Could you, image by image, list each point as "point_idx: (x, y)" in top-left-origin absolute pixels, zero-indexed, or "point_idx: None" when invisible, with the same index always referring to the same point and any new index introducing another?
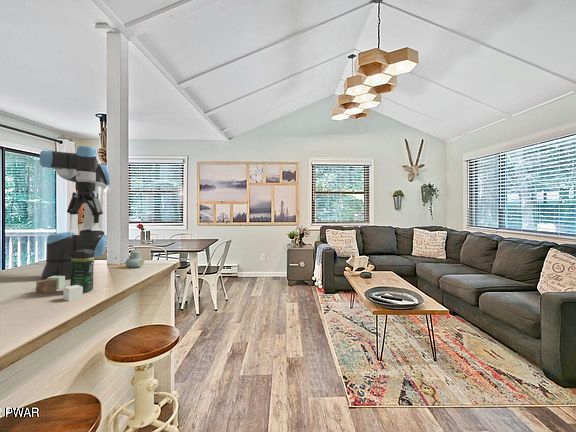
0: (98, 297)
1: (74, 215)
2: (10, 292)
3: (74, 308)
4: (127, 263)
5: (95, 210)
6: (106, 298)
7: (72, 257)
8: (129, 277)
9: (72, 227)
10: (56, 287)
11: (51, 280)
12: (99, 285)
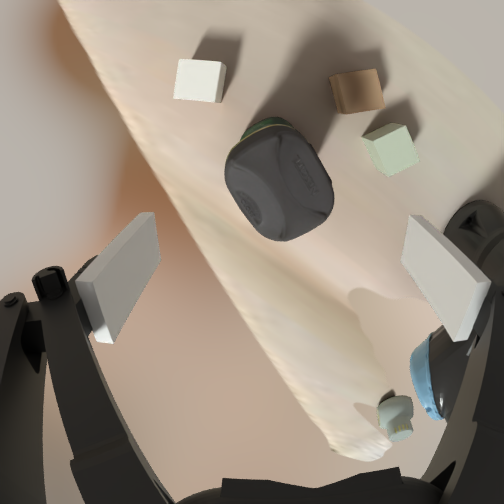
0: (162, 133)
1: (462, 303)
2: (423, 53)
3: (116, 44)
4: (402, 399)
5: (13, 320)
6: (136, 141)
7: (279, 125)
8: (313, 338)
9: (412, 227)
10: (368, 134)
11: (355, 101)
12: None
